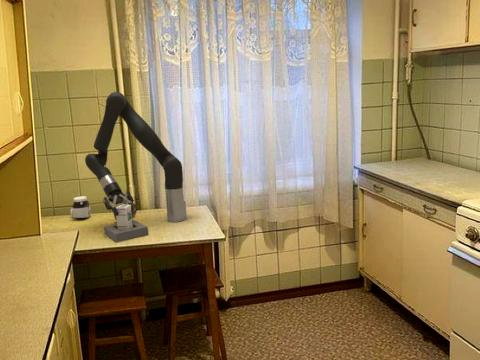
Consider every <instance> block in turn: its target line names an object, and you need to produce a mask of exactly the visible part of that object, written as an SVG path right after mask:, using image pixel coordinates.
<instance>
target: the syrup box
mask: <svg viewBox="0 0 480 360" xmlns="http://www.w3.org/2000/svg"><path fill="white" fill-rule="evenodd" d="M115 207H116V209H117V211H118V213H119V214H118V216H116V219H117V221H116V224H117V227H118V230H119V231H122V230H126V229H130V228H134V227H133V220H134V219H133V218H132V210H131V205H130V204H123V203H121V204H118V206H115Z"/></svg>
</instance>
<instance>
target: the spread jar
mask: <svg viewBox="0 0 480 360" xmlns="http://www.w3.org/2000/svg"><path fill="white" fill-rule="evenodd" d="M72 203H73V204H72V207H71V209H70V216H71V217H73V219H74V220H76V221H85V220H89V219H90V217H91V215H92V214H91V205H90V202H89V200H88V198H87V196H85V195H84V196H83V195H82V196H81V195H80V196H75V197H74V198H73V202H72Z"/></svg>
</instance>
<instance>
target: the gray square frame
mask: <svg viewBox="0 0 480 360" xmlns="http://www.w3.org/2000/svg"><path fill="white" fill-rule="evenodd" d="M133 227H134V228H130V229H126V230H122V231H119V230H118V227H117V223H113V224H110V225H109V224H108V225H104V226H103V234H104V236H106V237H108V239H109V238H110V239H111V240H112V241H113V242H115V243H120V242H124V241H129V240H132V239H137V238H140V237H141V238H142V237H145V236H149V229H148V226H147V225H145V224H143V223H141V222H139V221H137V220H136V219H133Z"/></svg>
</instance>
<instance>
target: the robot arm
mask: <svg viewBox="0 0 480 360" xmlns="http://www.w3.org/2000/svg"><path fill="white" fill-rule="evenodd" d="M119 117H121V118H122V120H123V121H124V122H125V124H126V126H127V128H128V129H129V131H130V132H131V134H132V135H133V137H134V138H135V139H136V140H137V142H138V143H139V144H140V145H141V146H142V147H143V148H145V149H146V151H148V152H149V153H150V154H151V155H152V156H153V157H154V158H155V159H156V160H157V162H158V163H159V165H160V166H161V167H162V169H163V171H164V193H165V202H166V219H167V221H168V222H172V223H178V222H182V221H185V220H187V217H188V215H187V204H186V201H185V200H184V198H185V197H184V186H183V185H184V175H183V174H184V173H183V165H182V162H181V161H180V159H179V158H177V157H176V156H175V155H174V154H173V153H171V151H170V150H168V148H166V147H165V145H164V144H163V142H162V140H161V139H160V137H159V136H158V134H157V133H156V132H155V131H154V129H153V128H152V127H151V126H150V125H149V124H148V123H147V122H146V121H145V120H144V118H143V117H141V115H140V114H138V112H136V110H135V109H134V108H133V106H132V105H131V104H130V102H129V101H128V99H127V97H126V96H125V95H124V94H123V93H121V92H119V91H112V92H111V93H110V94H109V95H108V96H107V98H106V99H105V108H104V115H103V118H102V122H101V124H100V126H99V130H98V132H97V134H96V138H95V140H94V143H93V148H94V150H96V151H97V153H88V154H87V155H86V156H85V157H84V161H85V165H86V167H87V168H88V169H89V170H90V172H91V173H92V175H94V176H95V177H96V178H97V180H98V182H99V184H100V186H101V188H102V191H103V192H104V194H105V196H104V197H103V200H102V202H103V204H104V206H105V208H106V210H107V211H109V210H111V211H112V213H113V216H114V215H116V216H118V214H119V213H118V211H117V209H116V207H117V206H116V205H122V204H130V205H131V210H132V212H133V211H134V207H133V205H132V204H133V203H134V201H135V199H134V197H133V196H132V195H131V193H130V192H129V191H127V192H126V193H123V191H122V188H121V187H120V185H119V184H118V181H117V179H116V178H115V177H114V176H113V173H112V171H110V169H109V167H106V165H107V162H108V152H109V151H108V150H109V146H110V144H111V140H112V138H113V134H114V132H115V131H114V129H115V127H116V123H117V121H118V119H119ZM110 202H111V203H110Z"/></svg>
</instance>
